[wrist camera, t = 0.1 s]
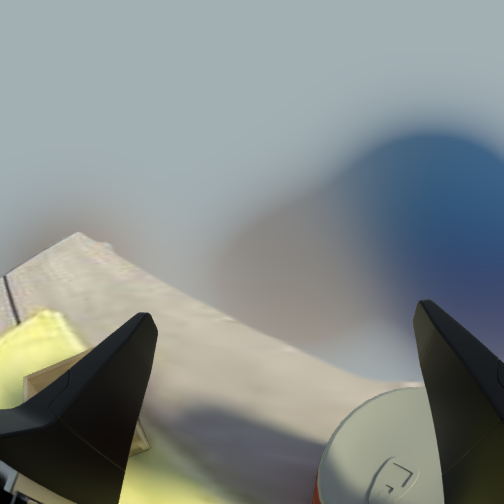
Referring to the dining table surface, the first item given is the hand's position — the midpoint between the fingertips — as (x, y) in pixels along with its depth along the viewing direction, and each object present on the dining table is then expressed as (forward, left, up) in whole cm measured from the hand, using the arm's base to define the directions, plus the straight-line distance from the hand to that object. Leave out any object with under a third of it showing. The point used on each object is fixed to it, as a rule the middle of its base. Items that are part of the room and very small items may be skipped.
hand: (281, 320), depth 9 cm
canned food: (-3, -5, -17) cm, 18 cm away
